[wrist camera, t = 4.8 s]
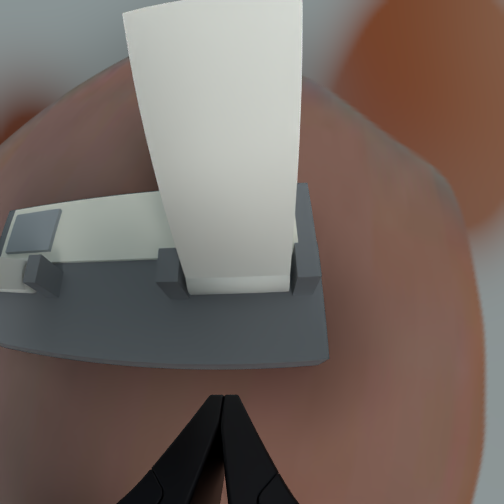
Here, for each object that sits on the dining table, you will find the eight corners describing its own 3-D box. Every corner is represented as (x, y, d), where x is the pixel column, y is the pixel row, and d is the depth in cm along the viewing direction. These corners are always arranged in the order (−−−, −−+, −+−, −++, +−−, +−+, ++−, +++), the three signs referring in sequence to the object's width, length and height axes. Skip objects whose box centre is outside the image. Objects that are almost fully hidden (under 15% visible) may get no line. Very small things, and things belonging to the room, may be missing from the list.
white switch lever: (288, 300, 14) (304, -6, 5) (192, 303, 14) (119, 13, 5) (284, 266, 15) (292, -5, 6) (196, 269, 15) (143, 9, 7)
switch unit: (317, 364, 16) (342, 351, 11) (5, 347, 16) (-45, 327, 11) (302, 211, 20) (312, 155, 16) (29, 229, 21) (-7, 193, 16)
